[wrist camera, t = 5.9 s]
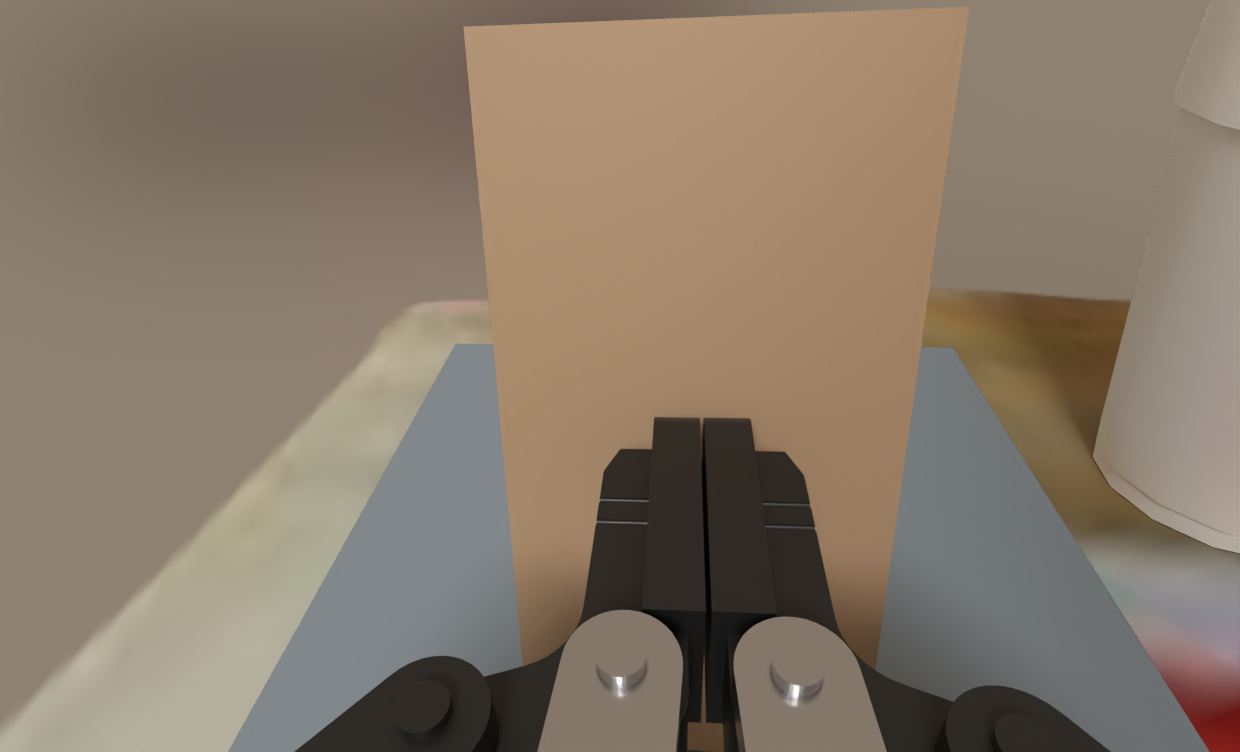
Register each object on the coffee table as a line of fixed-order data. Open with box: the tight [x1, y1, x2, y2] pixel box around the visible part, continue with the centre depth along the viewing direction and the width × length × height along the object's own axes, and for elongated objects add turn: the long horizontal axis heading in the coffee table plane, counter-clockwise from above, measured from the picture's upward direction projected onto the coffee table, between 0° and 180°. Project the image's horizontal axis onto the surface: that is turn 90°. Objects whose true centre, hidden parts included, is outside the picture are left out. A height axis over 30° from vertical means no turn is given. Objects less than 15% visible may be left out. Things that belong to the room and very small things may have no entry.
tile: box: [464, 7, 969, 752], centre depth 12 cm, size 2×7×13 cm, turn 85°
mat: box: [228, 344, 1209, 752], centre depth 15 cm, size 20×28×1 cm
